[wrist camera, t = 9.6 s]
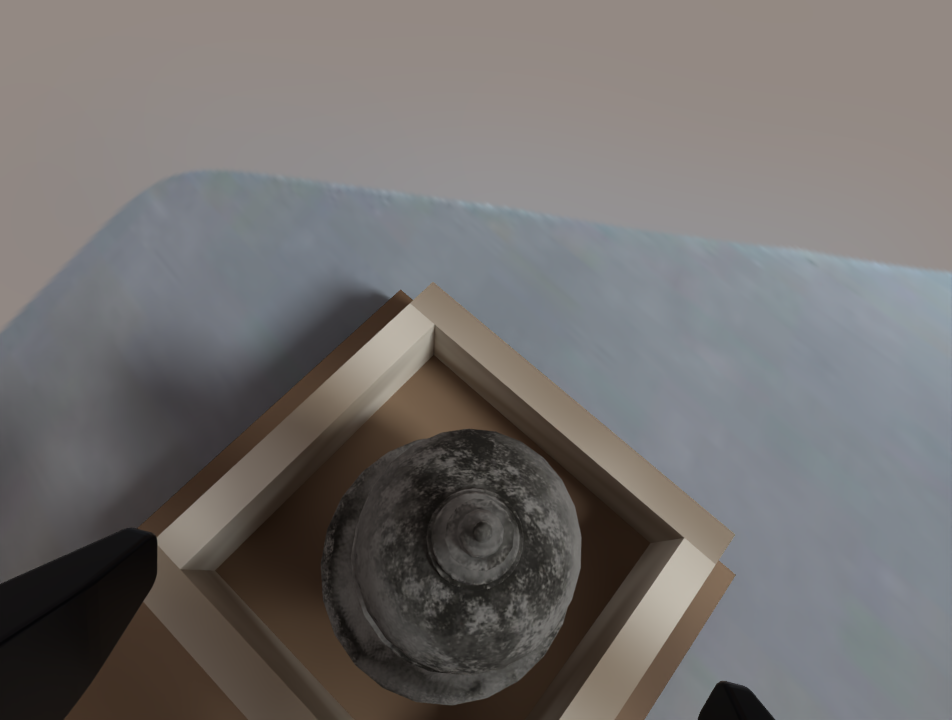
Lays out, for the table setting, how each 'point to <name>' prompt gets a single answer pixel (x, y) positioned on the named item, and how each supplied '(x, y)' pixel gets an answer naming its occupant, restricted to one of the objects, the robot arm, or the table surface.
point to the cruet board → (315, 501)
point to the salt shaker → (451, 566)
